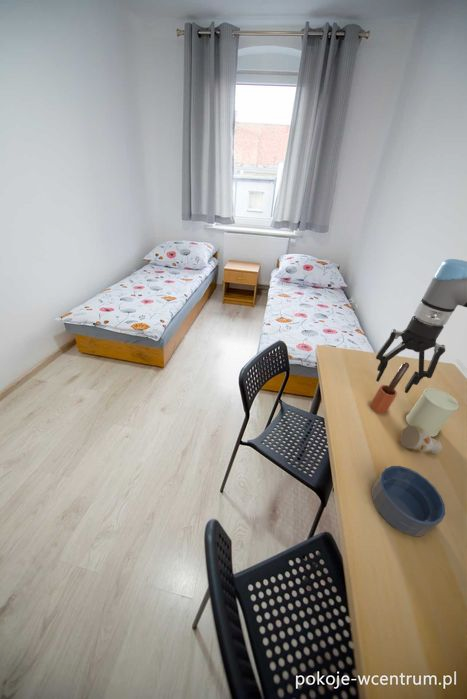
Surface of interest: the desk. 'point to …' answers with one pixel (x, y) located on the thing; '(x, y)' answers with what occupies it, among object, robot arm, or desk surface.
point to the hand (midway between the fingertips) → (391, 384)
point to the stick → (397, 378)
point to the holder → (383, 400)
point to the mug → (419, 440)
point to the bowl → (408, 501)
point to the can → (432, 411)
